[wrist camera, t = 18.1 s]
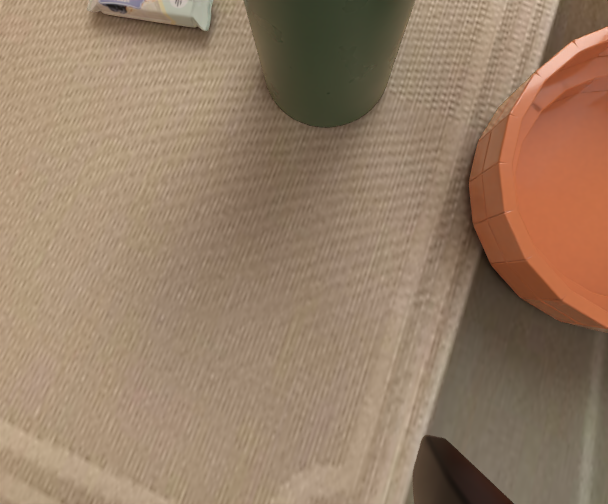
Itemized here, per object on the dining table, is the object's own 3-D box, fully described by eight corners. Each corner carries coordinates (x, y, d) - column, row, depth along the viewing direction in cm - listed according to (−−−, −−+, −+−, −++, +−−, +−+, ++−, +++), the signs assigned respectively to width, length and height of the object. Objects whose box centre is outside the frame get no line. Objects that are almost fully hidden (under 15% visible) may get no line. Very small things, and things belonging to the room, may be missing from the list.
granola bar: (220, -3, 22) (215, -18, 21) (211, 37, 22) (205, 25, 21) (100, -22, 22) (89, -37, 21) (90, 18, 22) (79, 5, 21)
